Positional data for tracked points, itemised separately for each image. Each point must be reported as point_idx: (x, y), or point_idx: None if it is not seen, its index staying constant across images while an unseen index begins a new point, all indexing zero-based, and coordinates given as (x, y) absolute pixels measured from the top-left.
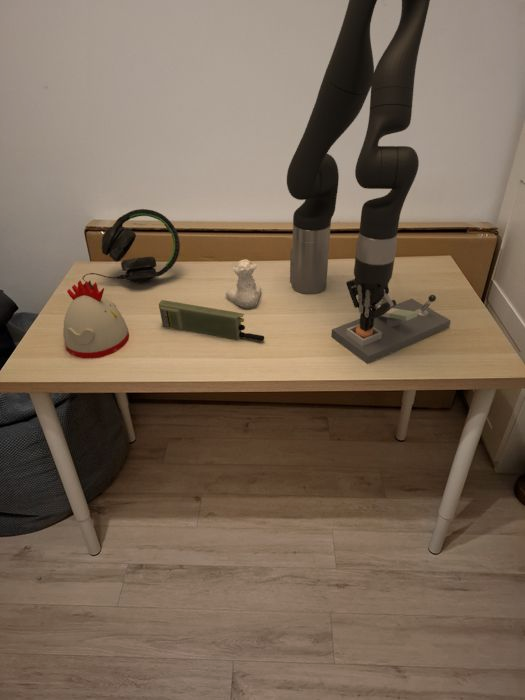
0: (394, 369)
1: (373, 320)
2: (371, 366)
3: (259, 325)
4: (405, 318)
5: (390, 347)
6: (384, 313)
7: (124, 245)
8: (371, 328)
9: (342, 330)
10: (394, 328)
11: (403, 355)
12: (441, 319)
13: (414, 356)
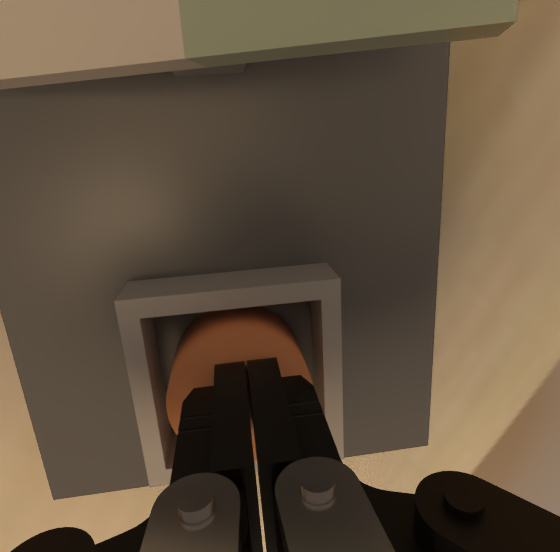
0: (520, 313)
1: (333, 444)
2: (430, 401)
3: None
4: (485, 31)
5: (435, 265)
6: (552, 522)
7: None
8: (271, 352)
9: (99, 446)
10: None
11: (468, 177)
12: None
13: (517, 119)
